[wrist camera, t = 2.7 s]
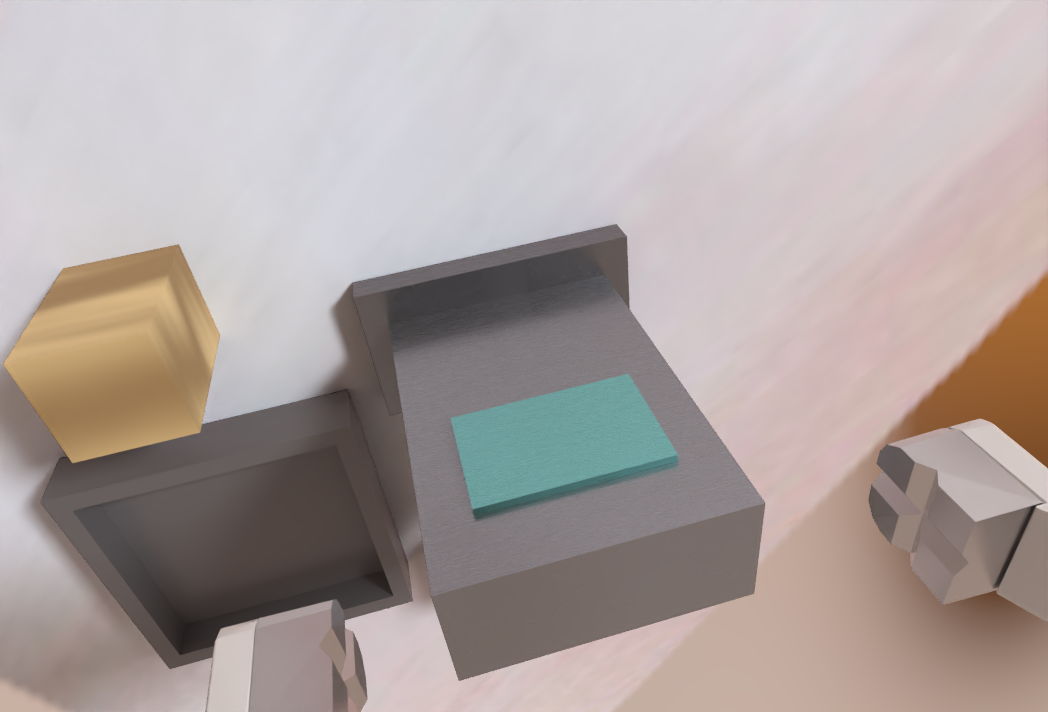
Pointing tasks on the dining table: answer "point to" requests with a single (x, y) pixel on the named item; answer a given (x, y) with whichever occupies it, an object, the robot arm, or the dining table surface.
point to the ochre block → (119, 354)
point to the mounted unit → (553, 452)
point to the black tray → (236, 524)
